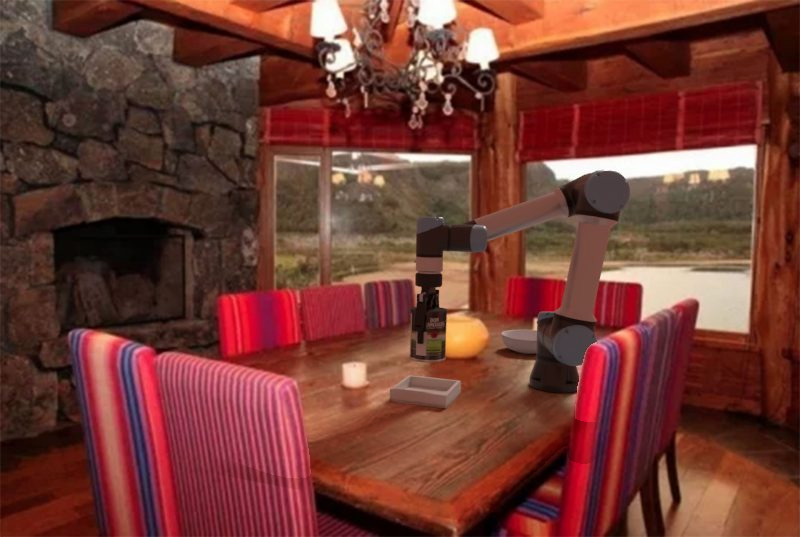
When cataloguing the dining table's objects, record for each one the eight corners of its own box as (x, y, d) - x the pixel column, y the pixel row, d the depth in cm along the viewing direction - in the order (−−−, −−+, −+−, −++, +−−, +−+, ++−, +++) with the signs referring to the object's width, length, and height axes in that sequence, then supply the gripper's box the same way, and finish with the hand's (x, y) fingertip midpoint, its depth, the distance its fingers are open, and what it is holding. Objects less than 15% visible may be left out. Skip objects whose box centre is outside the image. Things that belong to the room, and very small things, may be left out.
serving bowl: (496, 355, 220) (497, 336, 220) (505, 344, 240) (505, 328, 240) (553, 360, 214) (554, 341, 213) (557, 348, 233) (558, 331, 233)
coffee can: (451, 361, 160) (452, 311, 159) (415, 363, 157) (416, 311, 156) (438, 353, 170) (439, 305, 169) (404, 355, 167) (405, 306, 166)
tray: (460, 392, 169) (460, 380, 169) (446, 408, 154) (446, 395, 154) (408, 386, 175) (408, 375, 174) (389, 401, 160) (389, 388, 159)
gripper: (427, 269, 174) (425, 342, 175) (402, 274, 153) (400, 358, 154) (452, 270, 171) (450, 345, 173) (430, 276, 150) (427, 361, 152)
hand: (426, 351), depth 164 cm, fingers closed on coffee can, 10 cm apart
